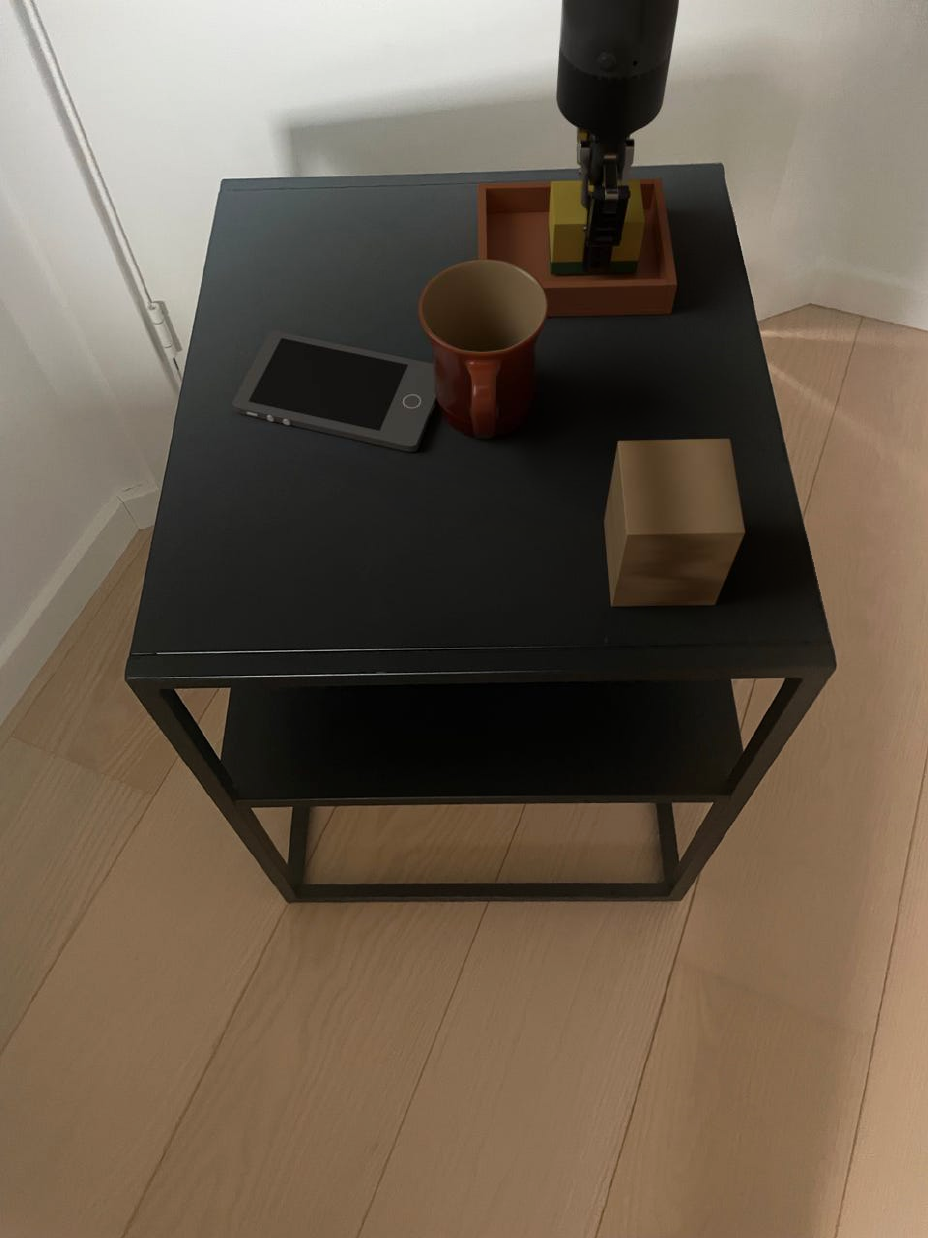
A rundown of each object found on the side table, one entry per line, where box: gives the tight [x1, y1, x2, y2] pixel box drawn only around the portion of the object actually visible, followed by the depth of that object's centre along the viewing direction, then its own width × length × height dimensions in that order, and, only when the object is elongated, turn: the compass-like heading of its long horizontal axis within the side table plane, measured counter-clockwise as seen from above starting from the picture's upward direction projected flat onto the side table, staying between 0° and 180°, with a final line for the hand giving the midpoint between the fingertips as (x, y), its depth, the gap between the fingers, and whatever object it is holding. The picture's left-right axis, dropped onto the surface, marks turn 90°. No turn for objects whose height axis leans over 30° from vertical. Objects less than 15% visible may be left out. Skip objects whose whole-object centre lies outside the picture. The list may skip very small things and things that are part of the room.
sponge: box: [548, 178, 645, 274], centre depth 77 cm, size 7×5×5 cm
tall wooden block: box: [603, 438, 746, 608], centre depth 62 cm, size 7×7×9 cm
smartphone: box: [231, 330, 438, 453], centre depth 74 cm, size 15×8×1 cm, turn 73°
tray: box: [477, 177, 678, 318], centre depth 79 cm, size 15×12×3 cm
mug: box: [417, 258, 549, 440], centre depth 68 cm, size 12×9×10 cm
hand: (593, 244), depth 79 cm, fingers closed on sponge, 5 cm apart
